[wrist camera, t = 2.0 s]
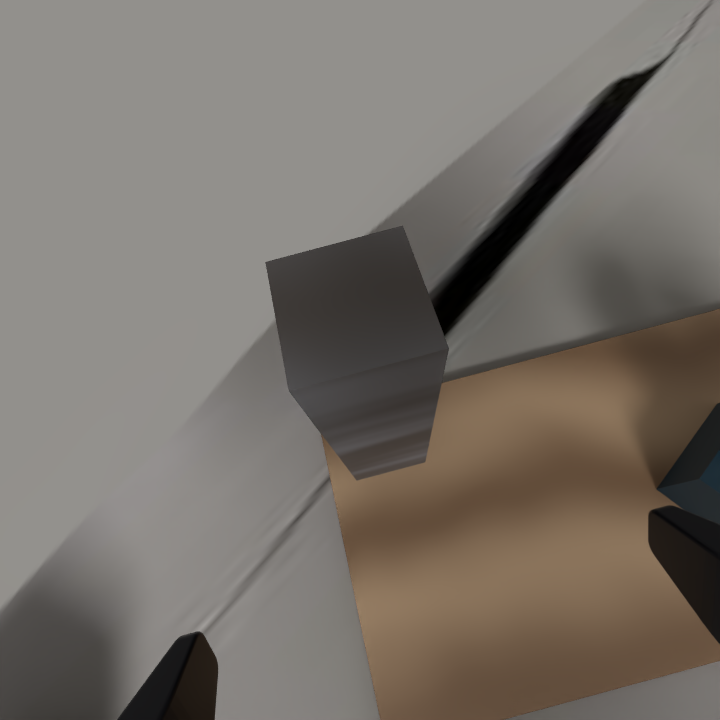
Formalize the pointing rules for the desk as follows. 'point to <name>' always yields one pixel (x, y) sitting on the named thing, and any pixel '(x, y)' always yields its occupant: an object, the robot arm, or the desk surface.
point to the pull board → (494, 490)
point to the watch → (698, 472)
